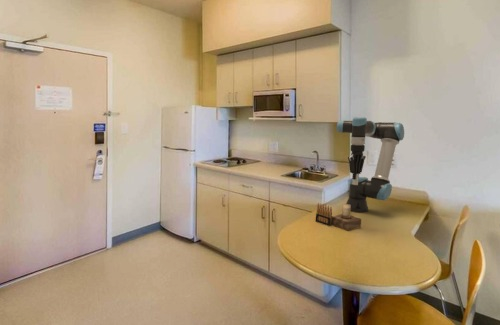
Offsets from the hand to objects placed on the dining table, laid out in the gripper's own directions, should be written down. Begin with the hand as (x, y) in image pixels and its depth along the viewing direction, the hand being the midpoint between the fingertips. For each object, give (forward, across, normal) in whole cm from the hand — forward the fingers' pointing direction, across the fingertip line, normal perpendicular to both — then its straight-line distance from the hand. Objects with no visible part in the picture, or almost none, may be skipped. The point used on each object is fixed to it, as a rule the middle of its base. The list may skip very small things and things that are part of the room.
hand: (355, 184), depth 167 cm
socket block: (+25, -4, +1) cm, 25 cm away
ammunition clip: (+25, -13, +10) cm, 30 cm away
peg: (+24, -4, +1) cm, 25 cm away
